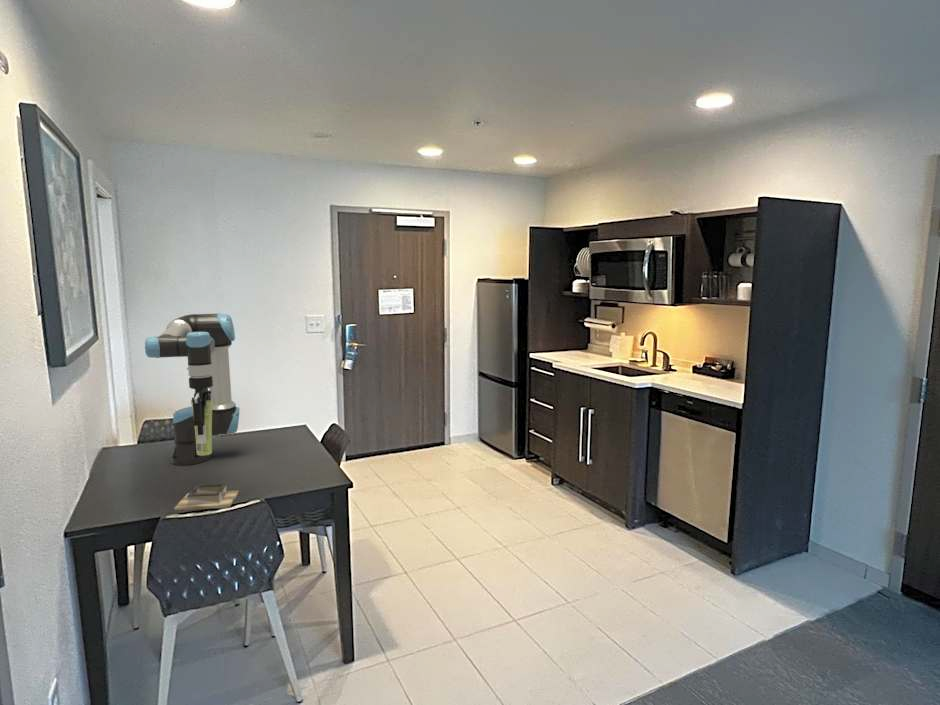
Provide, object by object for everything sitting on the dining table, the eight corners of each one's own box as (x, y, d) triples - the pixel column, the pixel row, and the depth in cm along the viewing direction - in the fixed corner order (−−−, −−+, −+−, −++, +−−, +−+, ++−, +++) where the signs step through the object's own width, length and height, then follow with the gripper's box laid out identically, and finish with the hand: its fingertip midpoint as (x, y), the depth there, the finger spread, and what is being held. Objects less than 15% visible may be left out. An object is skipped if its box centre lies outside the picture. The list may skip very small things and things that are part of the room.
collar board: (188, 495, 214) (187, 484, 213) (239, 493, 216) (238, 481, 216) (174, 510, 200) (173, 498, 200) (229, 507, 203) (228, 495, 202)
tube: (210, 450, 210) (207, 397, 207) (216, 453, 206) (213, 399, 204) (194, 454, 206) (190, 400, 203) (200, 457, 202) (196, 402, 200)
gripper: (197, 372, 210) (201, 435, 213) (180, 380, 193) (184, 448, 196) (219, 372, 212) (222, 434, 214) (204, 380, 194) (208, 448, 197)
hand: (204, 441), depth 205 cm, fingers closed on tube, 5 cm apart
